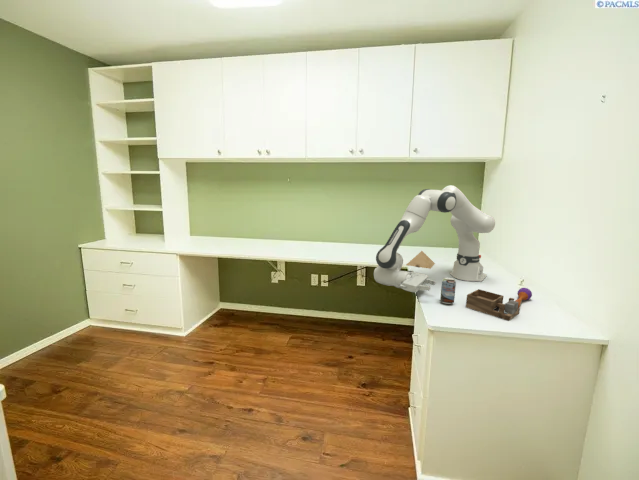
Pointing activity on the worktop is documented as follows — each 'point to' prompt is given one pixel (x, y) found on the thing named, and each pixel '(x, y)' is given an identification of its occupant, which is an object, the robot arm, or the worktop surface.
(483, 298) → the tray
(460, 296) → the worktop surface
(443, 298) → the beverage can
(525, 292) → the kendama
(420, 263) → the model pyramid
